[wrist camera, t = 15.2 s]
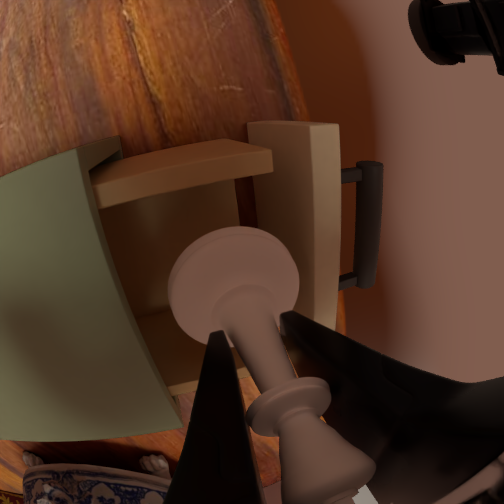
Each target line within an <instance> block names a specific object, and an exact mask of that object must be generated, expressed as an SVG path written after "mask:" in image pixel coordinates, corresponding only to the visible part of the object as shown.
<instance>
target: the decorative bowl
mask: <svg viewBox="0 0 504 504" xmlns="http://www.w3.org/2000/svg"><path fill="white" fill-rule="evenodd" d="M23 461H24V462H25V464H26V465H27V466H28V469H27V470H26V471H25V474H24V477H23V497H24V504H162V503H163V501H164V499H165V496H166V493H167V491H168V488H169V485H170V483H171V480H172V478H171V476H170V473H169V466H168V462H167V460H166V459H165V458H164V456H163V455H159V456H155V455H153V454H152V455H150V456H149V457H148V456H143V457H142V458H141V459H140V461H139V463H140V465H141V468H142V469H143V470H145V471H148V473H149V474H150V475H149V474H143V473H138V472H133V471H127V470H122V469H116V468H110V467H102V466H94V465H87V464H65V463H60V464H44V463H43V460H42V459H41V458H40V457H36V456H35V455H34V454H33V453H31V454H30V453H29V452H27V451H25V452H23Z"/></svg>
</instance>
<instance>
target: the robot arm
mask: <svg viewBox="0 0 504 504" xmlns="http://www.w3.org/2000/svg"><path fill="white" fill-rule="evenodd" d="M420 2H421V7H422V11H423V16H424V21H425V26H426V32H427V38H428V45H429V49H430V50H431V52H434V53H436V54H439V55H442V56H445V57H447V58H450V59H452V60H455V61H457V62H460V63H465V55H489V56H493V58H494V61H495V64H496V67H497V72H498V74H499V75H502V76H504V0H469V1H467V2H458V3H451V4H443V5H442V4H440V3H438V2H436V1H434V0H420ZM279 322H280V335H281V338H282V341H283V343H284V345H285V348H286V350H287V352H288V355H289V357H290V359H291V361H292V364H293V366H294V368H295V370H296V373H297V375H298V377H299V378H301V377H317V378H321V379H323V380H325V381H326V382H327V383H328V385H329V387H330V393H331V403H330V405H329V407H328V408H327V410H326V411H325V412H324V413H323V415H322V416H323V418H324V420H325V421H326V423H327V424H328V425H329V426H330V427H332V428H333V429H335V430H336V431H337V432H338V433H339V434H340V435H341V436H342V437H343V438H344V439H345V440H346V441H348V442H349V443H350V444H352V445H353V446H354V447H356V448H358V449H360V450H361V451H362V452H364V453H365V454H366V455H368V456H369V457H370V458H371V459H372V460H373V461H374V462H375V464H376V471H375V473H374V475H373V477H372V478H371V479H370V480H369V481H368V482H367V483H366V485H367V487H368V488H369V490H370V491H371V493H372V495H373V496H374V498H375V499H376V501H377V502H378V504H391V503H393V504H504V376H503V377H499V378H495V379H491V380H486V381H482V382H477V383H464V382H459V381H455V380H451V379H448V378H445V377H442V376H439V375H436V374H433V373H429V372H426V371H423V370H420V369H418V368H415V367H412V366H409V365H407V364H404V363H402V362H400V361H397V360H395V359H393V358H391V357H388V356H386V355H384V354H382V355H381V353H380V352H378V351H375V350H373V349H371V348H369V347H367V346H365V345H362V344H361V343H359V342H356V341H354V340H352V339H350V338H348V337H346V336H344V335H342V334H340V333H338V332H336V331H334V330H332V329H330V328H328V327H326V326H324V325H322V324H320V323H318V322H316V321H313V320H311V319H309V318H307V317H305V316H303V315H301V314H300V313H298V312H296V311H293V310H289V311H286V312H283V313H281V314H280V316H279ZM162 504H267V502H266V498H265V494H264V490H263V486H262V482H261V477H260V473H259V468H258V464H257V460H256V455H255V451H254V446H253V441H252V437H251V432H250V427H249V425H248V423H247V419H246V408H245V403H244V399H243V395H242V390H241V386H240V382H239V377H238V373H237V368H236V364H235V359H234V356H233V353H232V350H231V348H230V345H229V343H228V340H227V338H226V335H225V333H224V331H223V330H218V331H214V332H211V333H210V334H209V338H208V342H207V346H206V351H205V355H204V359H203V364H202V368H201V372H200V377H199V381H198V385H197V390H196V394H195V399H194V403H193V408H192V412H191V417H190V422H189V425H188V430H187V434H186V438H185V442H184V446H183V450H182V453H181V456H180V458H179V461H178V464H177V467H176V470H175V472H174V475H173V478H172V480H171V483H170V485H169V488H168V491H167V493H166V496H165V499H164V501H163V503H162Z"/></svg>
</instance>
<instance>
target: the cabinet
mask: <svg viewBox="0 0 504 504" xmlns="http://www.w3.org/2000/svg"><path fill="white" fill-rule="evenodd" d="M121 159H124V158H123V152H122V147H121V141H120V136H119V135H118V136H114V137H110V138H107V139H103V140H100V141H96V142H93V143H89V144H86V145H83V146H80V147H77V148H74V149H71V150H68V151H65V152H62V153H59V154H56V155H53V156H50V157H48V158H45V159H42V160H40V161H37V162H35V163H32V164H30V165H27V166H25V167H22V168H20V169H18V170H15V171H13V172H11V173H8V174H6V175H4V176H2V177H0V440H13V441H37V442H61V441H85V440H99V439H110V438H119V437H128V436H135V435H142V434H149V433H155V432H161V431H166V430H172V429H177V428H182V427H184V424H183V419H182V415H181V410H180V404H179V399H178V395H175V396H171V395H170V393H169V391H168V389H167V387H166V385H165V383H164V381H163V379H162V377H161V375H160V373H159V371H158V369H157V367H156V365H155V363H154V361H153V359H152V357H151V354H150V352H149V350H148V348H147V346H146V343H145V341H144V339H143V337H142V334H141V332H140V330H139V327H138V325H137V323H136V320H135V318H134V316H133V313H132V311H131V308H130V306H129V303H128V300H127V298H126V295H125V293H124V290H123V287H122V285H121V282H120V279H119V276H118V273H117V271H116V268H115V265H114V262H113V259H112V256H111V253H110V250H109V247H108V243H107V240H106V237H105V234H104V230H103V227H102V224H101V220H100V216H99V213H98V209H97V205H96V202H95V198H94V194H93V190H92V186H91V181H90V177H89V173H88V171H89V170H90V169H92V168H93V167H96V166H99V165H103V164H106V163H110V162H114V161H117V160H121Z"/></svg>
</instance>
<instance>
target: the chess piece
mask: <svg viewBox="0 0 504 504" xmlns="http://www.w3.org/2000/svg"><path fill="white" fill-rule="evenodd" d="M298 292H299V274H298V270H297V267H296V264H295V262H294V260H293V259H292V257H291V255H290V253H289V251H288V250H287V248H286V247H285V246H284V244H283V243H282V242H281V241H279V240H278V239H277V238H276V237H274V236H273V235H271V234H269V233H267V232H265V231H263V230H260V229H257V228H252V227H243V226H236V227H227V228H222V229H218V230H215V231H213V232H210V233H208V234H206V235H204V236H202V237H200V238H199V239H197V240H196V241H194V242H193V243H192V244H191V245H189V246H188V247H187V248H186V249H185V250H184V251H183V252H182V254H181V255H180V256H179V257H178V259H177V261H176V262H175V264H174V266H173V268H172V270H171V273H170V276H169V280H168V300H169V304H170V307H171V309H172V312H173V315H174V317H175V319H176V321H177V323H178V324H179V326H180V327H181V328H182V330H183V331H184V332H185V333H187V334H188V335H189V336H190V337H192V338H193V339H195V340H197V341H199V342H201V343H204V344H207V342H208V338H209V334H210V333H211V332H214V331H218V330H223V331H224V333H225V335H226V338H227V340H228V343H229V345H230V347H235V349H236V351H237V352H238V354H239V356H240V358H241V359H242V361H243V363H244V364H245V366H246V368H247V370H248V371H249V373H250V375H251V377H252V378H253V380H254V382H255V384H256V386H257V388H258V389H259V391H260V393H261V395H260V396H259V397H258V398H256V399H255V400H254V401H253V403H252V404H251V405H250V406H249V408H248V410H247V412H246V419H247V423H248V425H249V426H250V427H251V428H252V430H253V431H254V432H255V433H257V434H259V435H261V436H267V437H275V436H279V458H280V463H281V501H282V504H355V503H354V501H353V499H352V497H354V496H355V495H356V494H357V493H359V492H358V489H360V488H361V487H363V486H364V485H365V484H366V483H367V482H368V481H369V480H370V479H371V478H372V477H373V475H374V473H375V471H376V464H375V462H374V461H373V460H372V459H371V458H370V457H369V456H368V455H366V454H365V453H364V452H362V451H361V450H360V449H358V448H356V447H354V446H353V445H352V444H350V443H349V442H348V441H346V440H345V439H344V438H343V437H342V436H341V435H340V434H339V433H338V432H337V431H336V430H335V429H333V428H332V427H330V426H329V425H328V424H326V423H325V422H324V421H322V420H321V419H320V416H322V415H323V413H324V412H325V411H326V410H327V408H328V407H329V405H330V403H331V393H330V387H329V385H328V383H327V382H326V381H325V380H323V379H321V378H317V377H301V378H297V377H296V374H295V372H294V369H293V367H292V365H291V362H290V360H289V357H288V355H287V352H286V349H285V347H284V344H283V341H282V338H281V336H280V333H279V330H278V327H279V326H280V322H279V316H280V314H281V313H283V312H286V311H289V310H292V309H293V307H294V305H295V302H296V300H297V296H298ZM391 504H393V503H391Z"/></svg>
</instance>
